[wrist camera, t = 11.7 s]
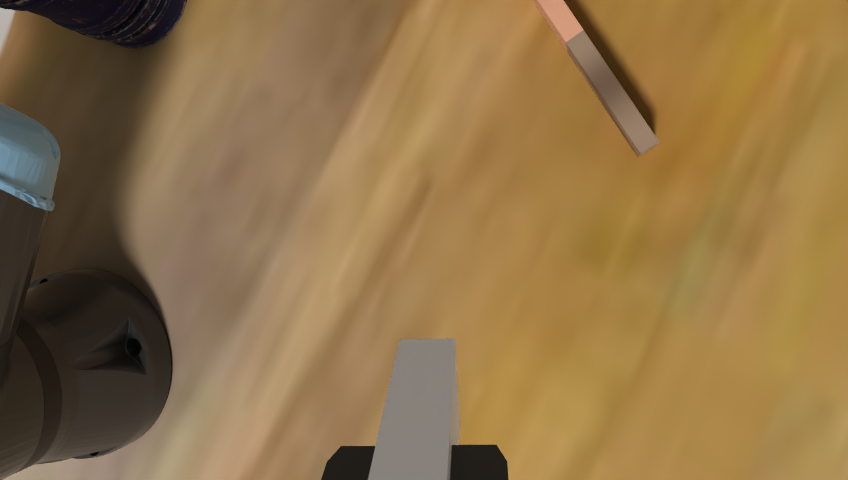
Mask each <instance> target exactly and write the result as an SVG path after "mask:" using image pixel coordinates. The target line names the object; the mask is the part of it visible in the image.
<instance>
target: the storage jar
mask: <svg viewBox="0 0 848 480" xmlns="http://www.w3.org/2000/svg"><path fill="white" fill-rule="evenodd" d="M186 2H187V0H0V7H1V8H4V9H12V10H19V11H29V12H32V13H35V14H38V15H41V16H44V17H47V18H49V19H50V20H52V21H53V22H54V23H56V24H58V25H60V26H62V27H65V28H68V29H70V30H73V31H76V32H78V33H80V34H82V35H85V36H88V37H91V38H95V39H98V40H103V41H109V42H113V43H115V44H117V45H120V46H124V47H127V48H143V47H147V46H150V45H153V44H155V43H157V42H158V41H160V40H161V39H163V38H164V37H165V36H167V35H168V34H169V32H170V31H171V30H172V29H173V28H174V27H175V25H176V24H177V23H178V21H179V19H180V17H181V15H182V13H183V11H184V8H185V5H186Z"/></svg>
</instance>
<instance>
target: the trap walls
mask: <svg viewBox="0 0 848 480" xmlns="http://www.w3.org/2000/svg"><path fill="white" fill-rule="evenodd" d="M533 2H534V3H535V5H536V6H537V7H538V9H539V10H540V12H541V13H542V15H543V16H544V18H545V19H546V21H547V22H548V24H549V25H550V27H551V28H552V30H553V31H554V33H555V34H556V36H557V37H558V39H559V40H560V42H561V43H562V45H563V46H564V48H565V49H566V51H567V46H566V42H567V41H569V40H570V39H571V38H573V37H574V36H576V35H577V34H578V33H580V32H581V31H583V28H582V27H581V25H580V24H579V22H578V21H577V19H576V18H575V17H574V15H573V14H572V12H571V11H570V9H569V8H568V6H567V5H566V3H565V2H564V0H533ZM567 52H568V51H567Z"/></svg>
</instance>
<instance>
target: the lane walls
mask: <svg viewBox="0 0 848 480" xmlns="http://www.w3.org/2000/svg"><path fill="white" fill-rule="evenodd" d="M566 46H567V51H568V54H569V55H570V57H571V58H572V60H573V61H574V63H575V64H576V66H577V67H578V69H579V70H580V72H581V73H582V75H583V76H584V78H585V79H586V81H587V82H588V84H589V85H590V87H591V88H592V89H593V91H594V92H595V94H596V95H597V97H598V98H599V100H600V101H601V103H602V104H603V106H604V107H605V109H606V110H607V112H608V113H609V115H610V116H611V118H612V119H613V121H614V122H615V124H616V125H617V127H618V128H619V130H620V131H621V133H622V134H623V136H624V137H625V139H626V140H627V142H628V143H629V145H630V146H631V148H632V149H633V151H634V152H635V154H636V155H637V157H639V156H640V155H642V154H643V153H645V152H647V151H648V150H650V149H651V148H653V147H655V146H656V145H657V144H658V143H659V141H658V139H657V138H656V136H655V135H654V133H653V132H652V130H651V129H650V127H649V126H648V124H647V123H646V121H645V120H644V118H643V117H642V116H641V114H640V113H639V111H638V110H637V108H636V107H635V105H634V104H633V102H632V101H631V99H630V98H629V96H628V95H627V93H626V92H625V90H624V89H623V87H622V86H621V84H620V83H619V82H618V80H617V79H616V77H615V76H614V74H613V73H612V71H611V70H610V68H609V67H608V65H607V64H606V62H605V61H604V59H603V58H602V56H601V55H600V53H599V52H598V50H597V49H596V48H595V46H594V45H593V43H592V42H591V40H590V39H589V37H588V36H587V34H586V33H585V31H584V30H583V31H581V32H580V33H578V34H577V35H576V36H574V37H573V38H571V39H570V40H569V41H567V42H566Z"/></svg>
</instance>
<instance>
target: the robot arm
mask: <svg viewBox="0 0 848 480" xmlns="http://www.w3.org/2000/svg"><path fill="white" fill-rule="evenodd" d="M60 157H61V152H60V147H59V144H58V142H57V140H56V138H55V137H54V136H53V134H52V133H51V132H50V131H49V130H48V129H47V128H46V127H45V126H43V125H42V124H41V123H39V122H38V121H36V120H34V119H33V118H31V117H29V116H27V115H25V114H24V113H22V112H20V111H18V110H16V109H13V108H11V107H9V106H7V105H5V104H2V103H0V480H2V479H4V478H6V477H8V476H10V475H12V474H14V473H17V472H19V471H21V470H23V469H25V468H27V467H29V466H32V465H35V464H43V463H51V462H57V461H63V460H67V459H70V458H76V459H85V458H94V457H99V456H103V455H106V454H109V453H111V452H114V451H116V450H118V449H120V448H122V447H124V446H125V445H127V444H129V443H131V442H133V441H135V440H137V439H138V438H140V437H141V436H142V435H144V434H145V433H146V432H147V431H148V430H149V429H150V428H151V427H152V426H153V424H154V423H155V422H156V420H157V419H158V417H159V415H160V414H161V412H162V410H163V407H164V405H165V402H166V399H167V396H168V392H169V388H170V381H171V357H170V350H169V345H168V340H167V337H166V334H165V331H164V328H163V326H162V323H161V321H160V319H159V317H158V315H157V313H156V312H155V310H154V308H153V307H152V306H151V304H150V303H149V301H148V300H147V299H146V298H145V297H144V295H143V294H142V293H141V292H140V291H139V290H138V289H137V288H135V287H134V286H133V285H132V284H130V283H129V282H128V281H126V280H125V279H123V278H121V277H119V276H117V275H115V274H113V273H110V272H107V271H103V270H98V269H80V270H73V271H65V272H59V273H55V274H51V275H48V276H46V277H43V278H41V279H39V280H37V281H35V282H34V283H32V284H30V280H31V276H32V273H33V269H34V265H35V261H36V258H37V254H38V250H39V246H40V243H41V239H42V235H43V231H44V228H45V224H46V220H47V217H48V213H49V211H53V210H54V207H55V203H54V201H53V200H52V197H53V192H54V188H55V183H56V178H57V173H58V169H59V164H60ZM29 284H30V285H29ZM459 427H460V419H459V401H458V382H457V363H456V345H455V339H404V340H399V345H398V349H397V354H396V358H395V362H394V367H393V371H392V376H391V380H390V384H389V389H388V393H387V398H386V402H385V407H384V411H383V415H382V420H381V424H380V429H379V433H378V437H377V442H376V446H341V447H340V448H339V449H338V450H337V451H336V452H335V454H334V455H333V456H332V457H331V458H330V459H329V460H328V462H327V463H326V467H325V470H324V473H323V476H322V479H321V480H508V468H507V461H506V459H505V458H504V456H503V454H502V453H501V451H500V450H499V448H498V447H497V445H459Z"/></svg>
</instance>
